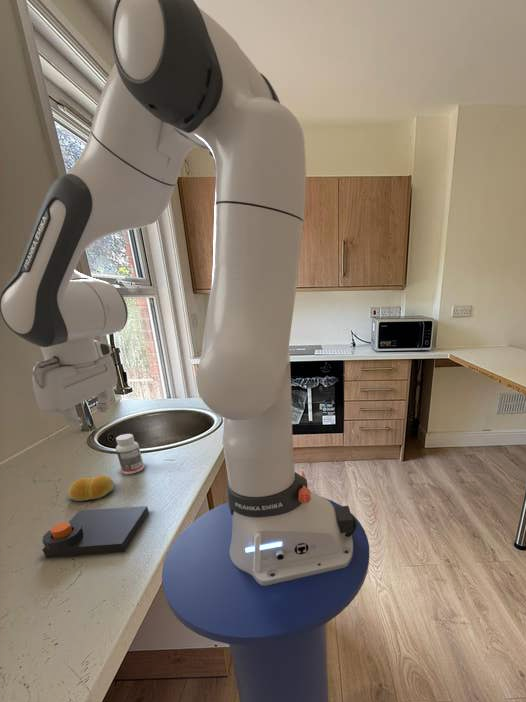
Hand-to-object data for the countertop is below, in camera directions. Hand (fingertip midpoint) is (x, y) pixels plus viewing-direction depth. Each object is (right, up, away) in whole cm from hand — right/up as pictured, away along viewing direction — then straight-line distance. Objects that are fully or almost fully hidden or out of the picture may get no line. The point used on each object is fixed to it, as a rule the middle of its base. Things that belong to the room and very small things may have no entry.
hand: (91, 418), depth 73 cm
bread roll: (-7, -18, +10) cm, 22 cm away
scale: (+5, -23, -4) cm, 24 cm away
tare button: (0, -22, -9) cm, 23 cm away
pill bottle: (-2, -13, +21) cm, 25 cm away
